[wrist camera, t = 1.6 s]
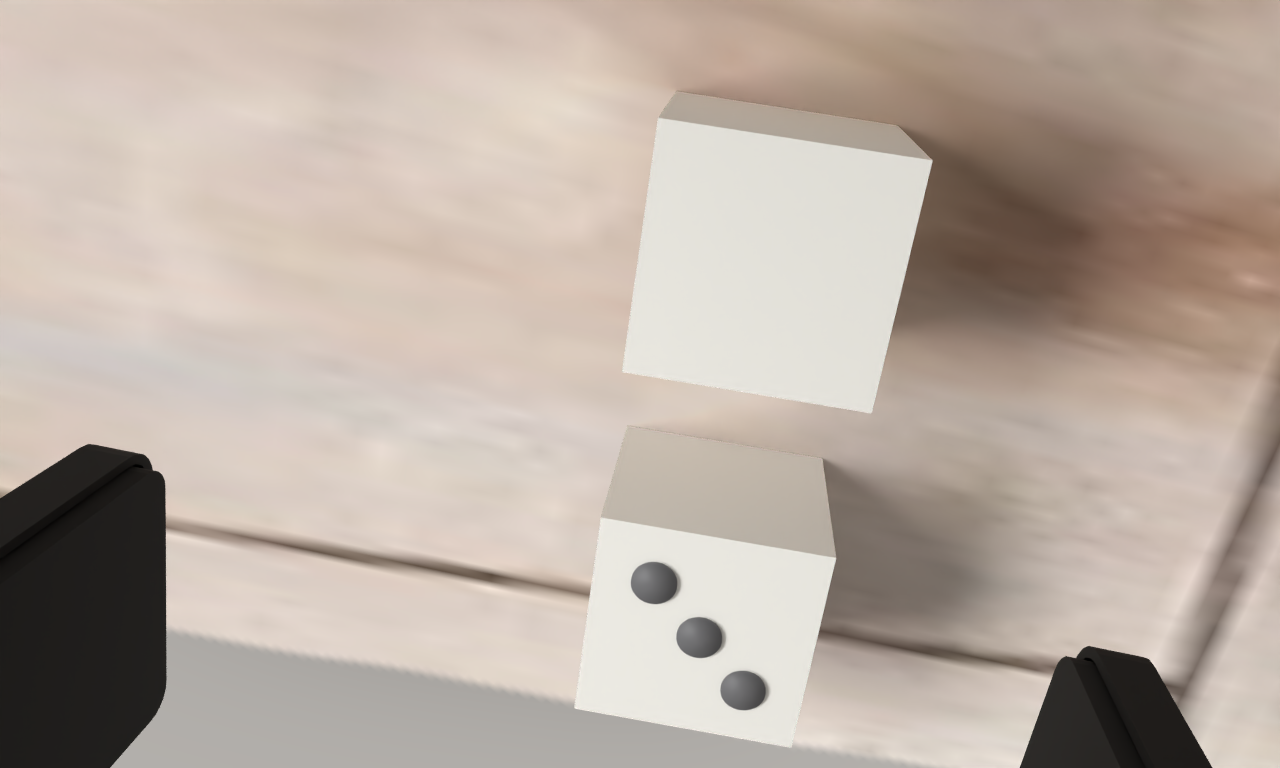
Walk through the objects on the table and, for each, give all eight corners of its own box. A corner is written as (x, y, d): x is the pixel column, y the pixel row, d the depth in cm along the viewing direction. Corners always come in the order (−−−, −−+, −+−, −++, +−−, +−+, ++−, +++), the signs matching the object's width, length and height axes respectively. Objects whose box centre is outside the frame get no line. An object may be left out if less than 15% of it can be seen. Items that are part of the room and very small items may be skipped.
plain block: (676, 90, 28) (658, 117, 23) (896, 124, 28) (932, 160, 23) (645, 300, 31) (622, 372, 25) (850, 333, 30) (871, 413, 25)
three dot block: (627, 424, 32) (600, 519, 26) (825, 457, 32) (840, 560, 26) (603, 590, 34) (573, 710, 29) (788, 622, 34) (795, 750, 28)
